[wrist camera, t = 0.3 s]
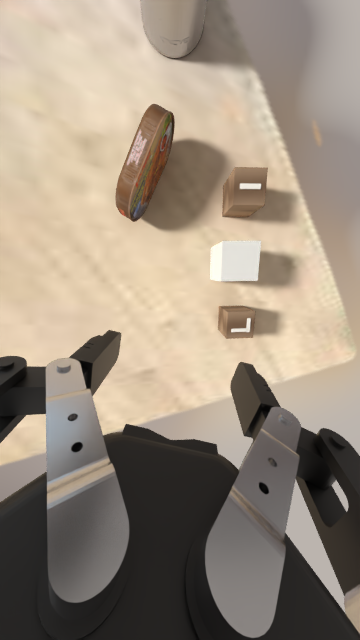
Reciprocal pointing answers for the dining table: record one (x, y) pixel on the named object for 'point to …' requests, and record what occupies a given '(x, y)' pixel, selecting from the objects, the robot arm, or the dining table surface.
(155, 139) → the tin
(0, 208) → the dining table surface
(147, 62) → the dining table surface
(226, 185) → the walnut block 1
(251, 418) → the robot arm
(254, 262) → the plain block
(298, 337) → the dining table surface
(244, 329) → the walnut block
